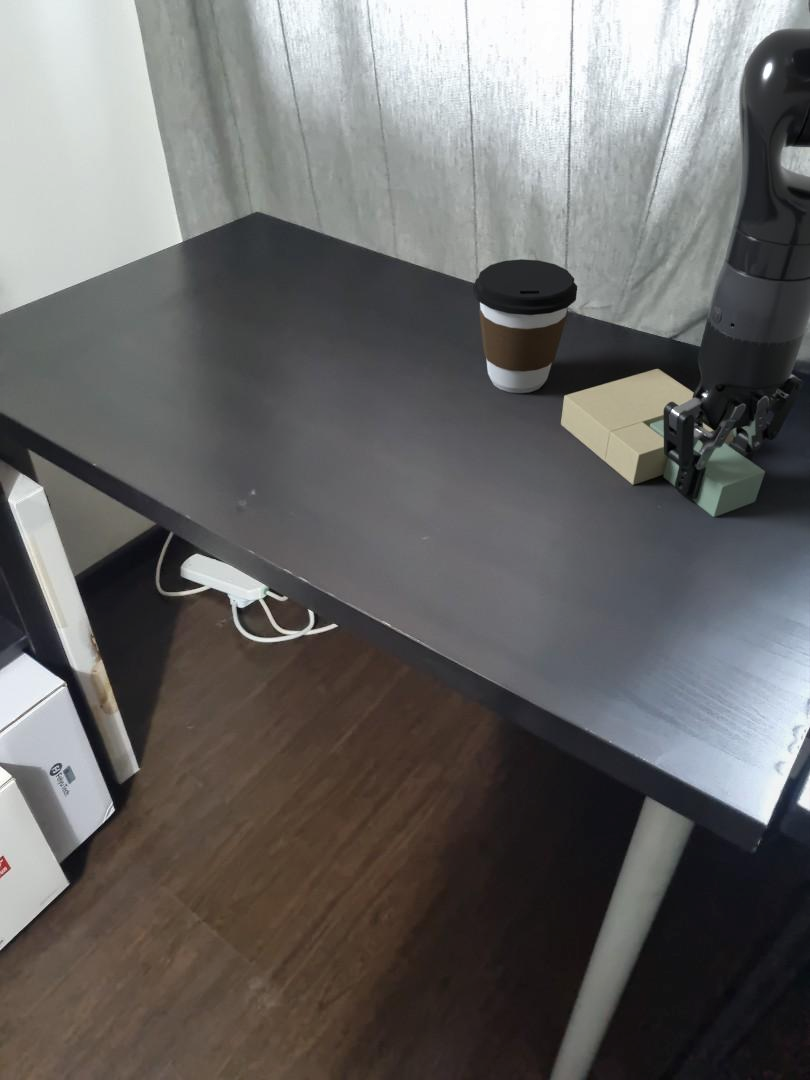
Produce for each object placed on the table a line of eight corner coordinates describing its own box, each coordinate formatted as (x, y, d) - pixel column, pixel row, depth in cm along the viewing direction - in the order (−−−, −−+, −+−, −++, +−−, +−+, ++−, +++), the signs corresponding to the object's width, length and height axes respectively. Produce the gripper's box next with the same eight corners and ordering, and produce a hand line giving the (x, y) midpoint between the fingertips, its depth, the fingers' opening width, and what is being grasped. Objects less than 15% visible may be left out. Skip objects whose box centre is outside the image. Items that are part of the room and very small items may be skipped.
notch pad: (729, 452, 82) (738, 422, 80) (632, 485, 78) (639, 455, 76) (651, 396, 90) (657, 368, 88) (560, 424, 87) (564, 395, 84)
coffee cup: (572, 404, 89) (587, 299, 82) (472, 405, 90) (476, 300, 82) (559, 356, 98) (571, 256, 90) (467, 356, 98) (470, 257, 90)
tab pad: (755, 502, 76) (765, 471, 74) (713, 517, 75) (722, 486, 72) (675, 442, 84) (682, 413, 81) (636, 455, 82) (642, 425, 80)
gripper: (721, 357, 62) (675, 532, 73) (859, 317, 66) (796, 486, 77) (656, 317, 67) (622, 486, 78) (788, 282, 71) (738, 446, 82)
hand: (709, 485), depth 77 cm, fingers closed on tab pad, 5 cm apart
